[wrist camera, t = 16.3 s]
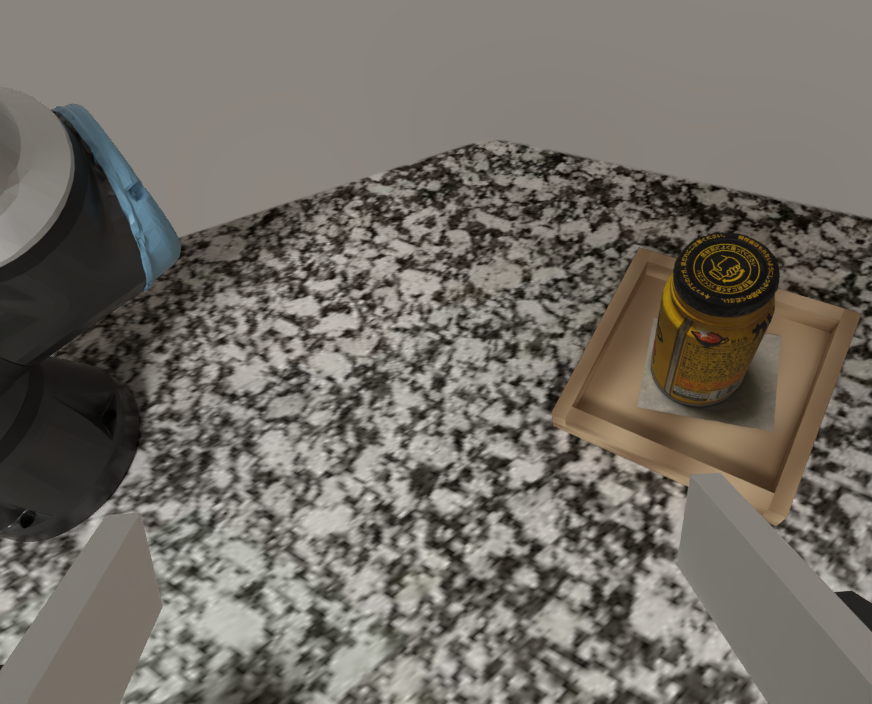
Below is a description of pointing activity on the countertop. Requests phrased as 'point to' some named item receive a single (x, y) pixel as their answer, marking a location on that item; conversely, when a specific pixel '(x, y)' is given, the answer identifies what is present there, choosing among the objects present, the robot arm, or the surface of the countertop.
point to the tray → (697, 438)
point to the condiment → (716, 335)
